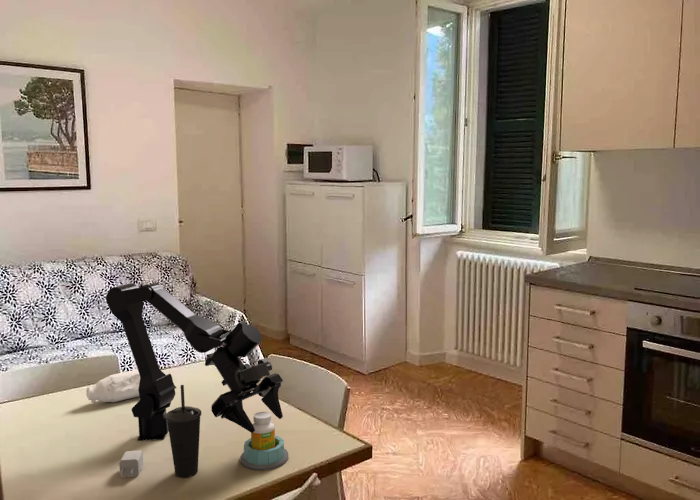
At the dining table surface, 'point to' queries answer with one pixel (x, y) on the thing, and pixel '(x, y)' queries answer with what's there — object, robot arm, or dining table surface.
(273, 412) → the robot arm
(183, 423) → the drinking cup
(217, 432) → the dining table surface
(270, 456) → the teal round bowl
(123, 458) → the usb wall charger
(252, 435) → the supplement bottle
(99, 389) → the white bottle
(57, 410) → the dining table surface
